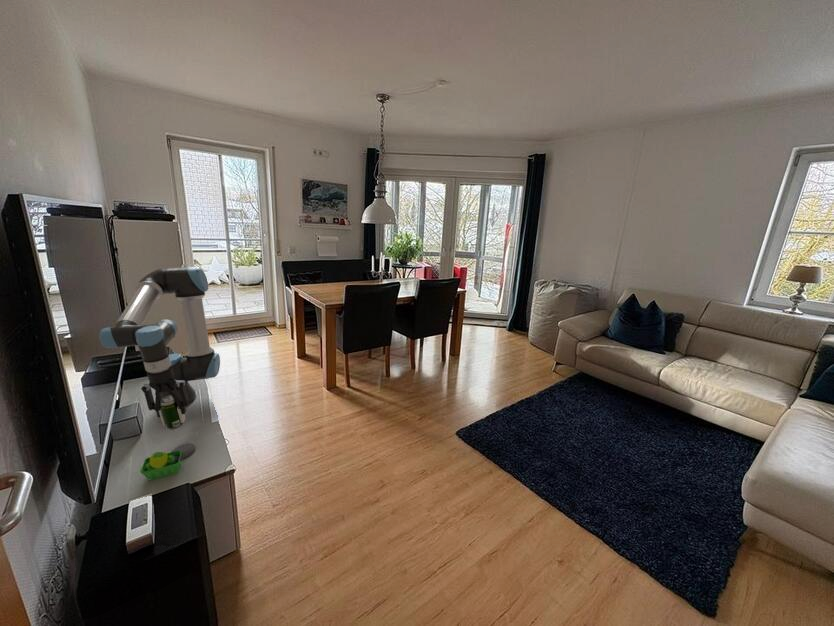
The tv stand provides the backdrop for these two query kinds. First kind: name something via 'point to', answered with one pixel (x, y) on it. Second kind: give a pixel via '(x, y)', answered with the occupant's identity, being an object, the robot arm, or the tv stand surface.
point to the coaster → (185, 450)
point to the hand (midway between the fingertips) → (174, 421)
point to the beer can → (170, 412)
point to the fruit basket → (161, 464)
